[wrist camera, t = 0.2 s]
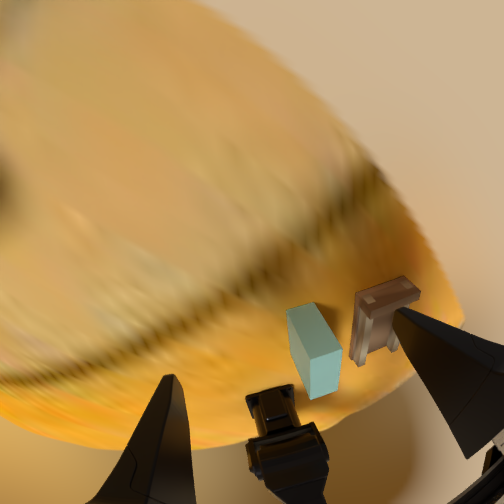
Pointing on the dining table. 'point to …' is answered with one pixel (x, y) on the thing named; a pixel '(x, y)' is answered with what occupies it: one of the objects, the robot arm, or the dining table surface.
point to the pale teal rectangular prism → (314, 350)
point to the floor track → (378, 317)
